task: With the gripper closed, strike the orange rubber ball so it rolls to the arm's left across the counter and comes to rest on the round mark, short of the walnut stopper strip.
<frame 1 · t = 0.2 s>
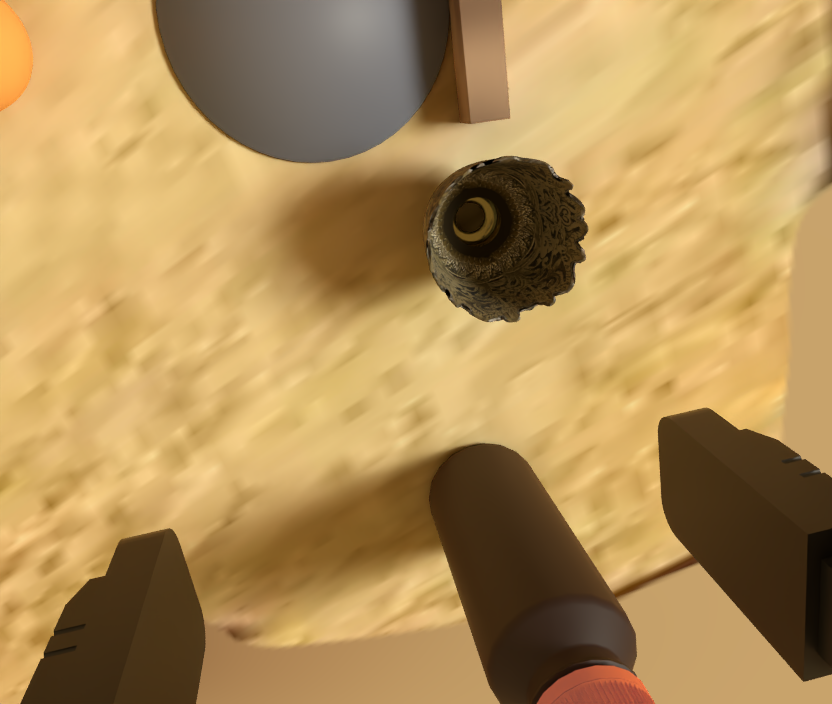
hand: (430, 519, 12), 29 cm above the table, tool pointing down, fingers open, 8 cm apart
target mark: (307, 13, 35), on the table
bottle: (480, 488, 45), on the table
cup: (468, 217, 40), on the table
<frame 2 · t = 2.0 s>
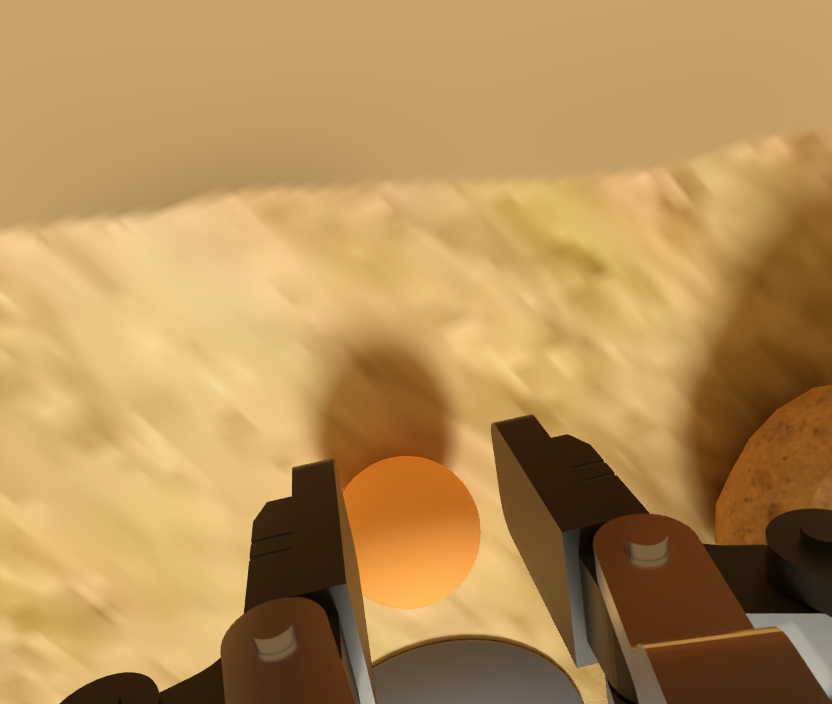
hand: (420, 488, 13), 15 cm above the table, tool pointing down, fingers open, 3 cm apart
ball: (406, 530, 27), on the table
potato: (773, 482, 33), on the table
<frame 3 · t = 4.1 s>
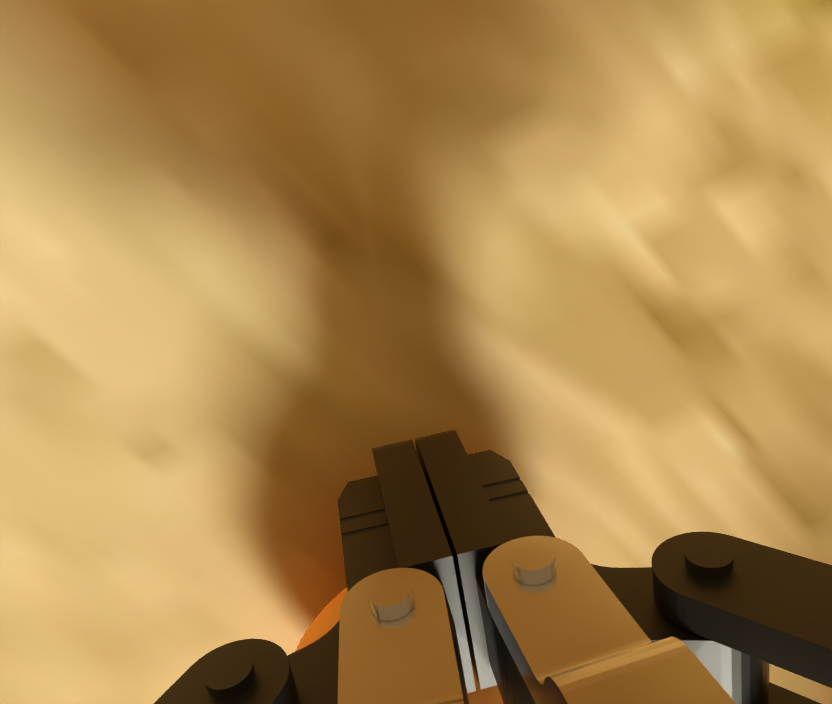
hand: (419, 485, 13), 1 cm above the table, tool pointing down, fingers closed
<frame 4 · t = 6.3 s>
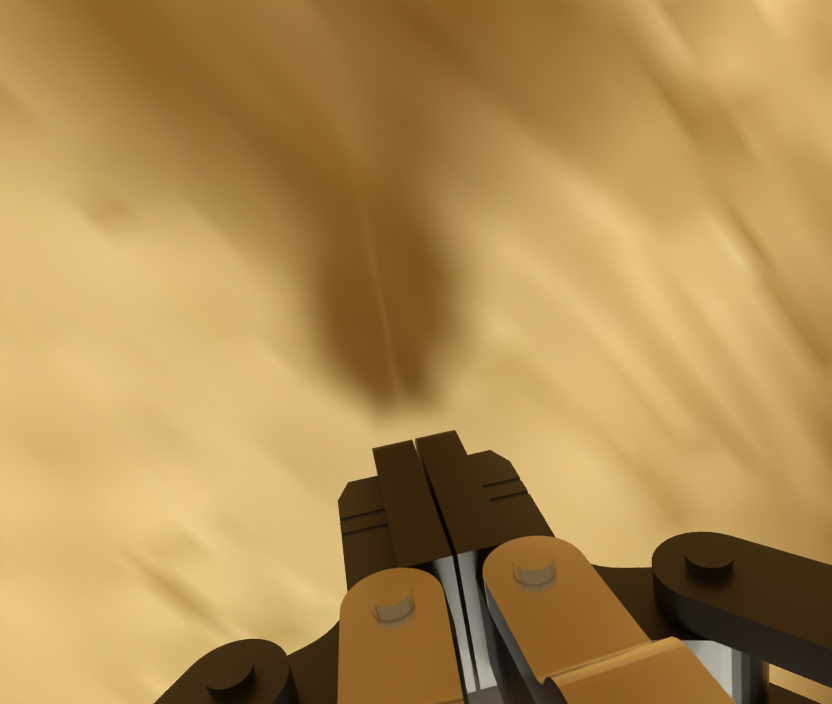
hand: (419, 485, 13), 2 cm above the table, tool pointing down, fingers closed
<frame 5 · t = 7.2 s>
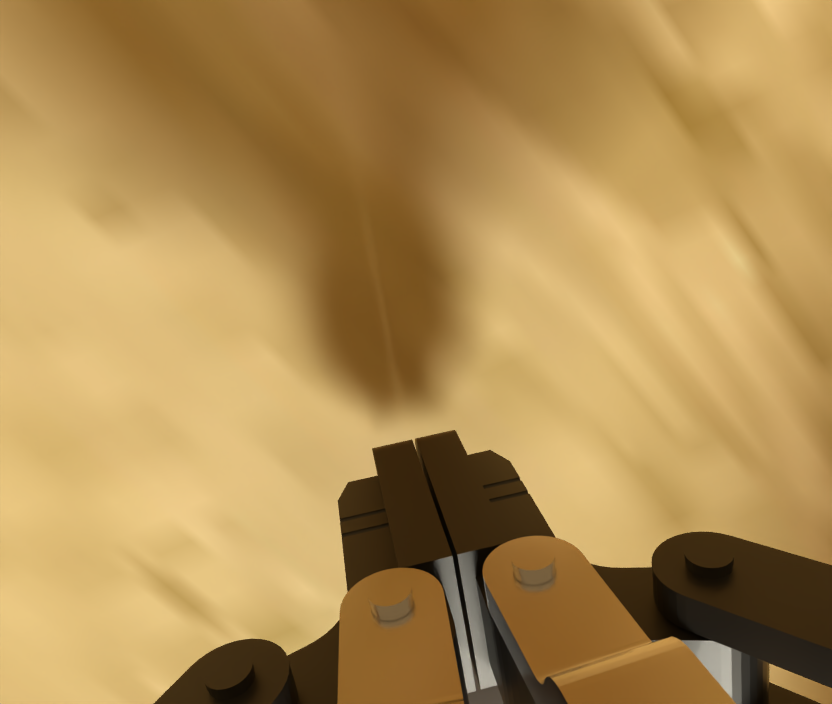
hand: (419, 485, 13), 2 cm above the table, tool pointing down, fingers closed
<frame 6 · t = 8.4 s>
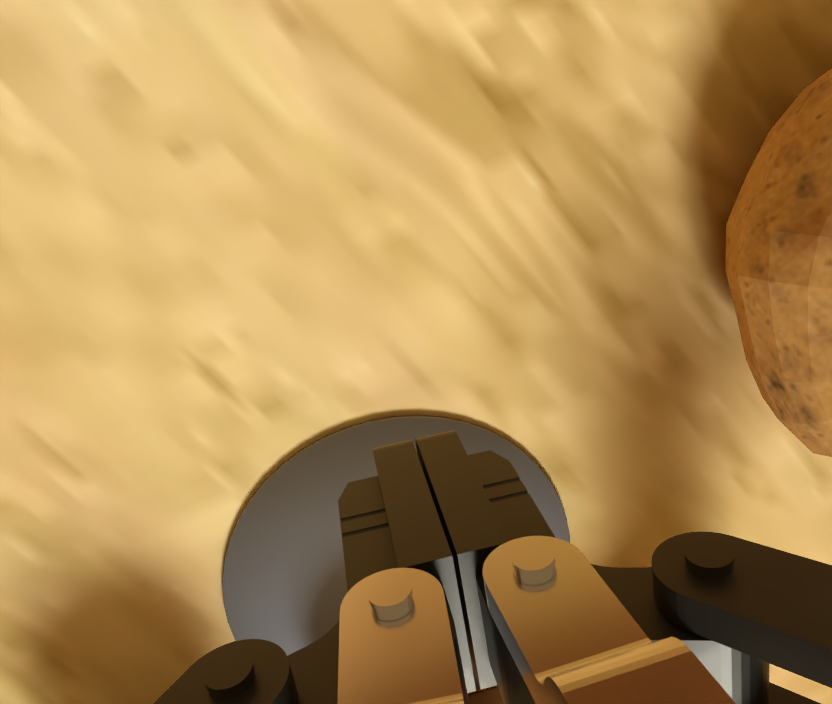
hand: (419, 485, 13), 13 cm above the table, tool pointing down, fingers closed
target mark: (402, 575, 29), on the table
potato: (792, 224, 27), on the table
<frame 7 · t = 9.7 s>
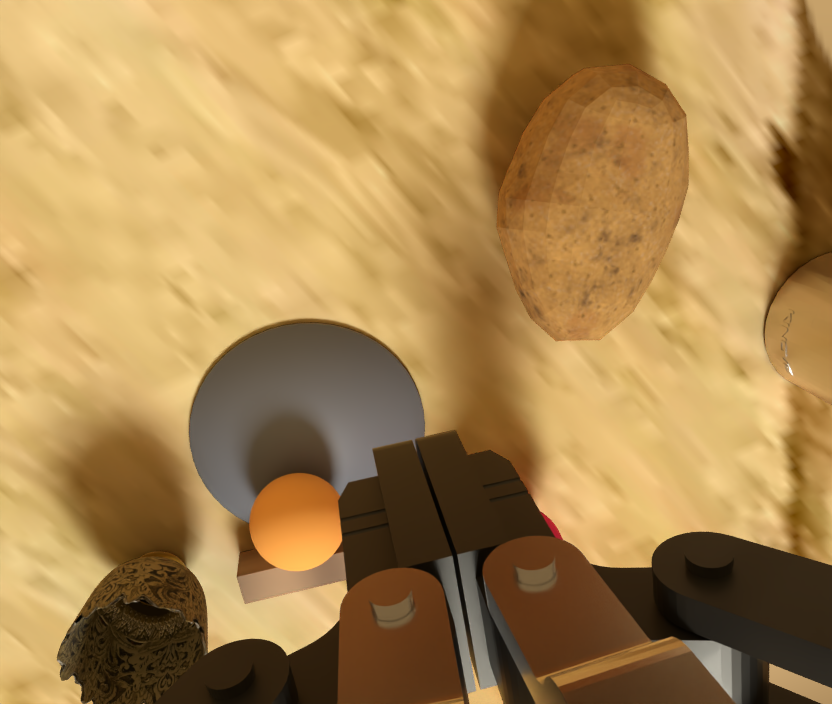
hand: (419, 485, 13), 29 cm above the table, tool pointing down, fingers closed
stopper strip: (336, 544, 46), on the table
ball: (298, 521, 42), on the table
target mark: (310, 433, 44), on the table
potato: (560, 199, 42), on the table
cup: (160, 569, 45), on the table
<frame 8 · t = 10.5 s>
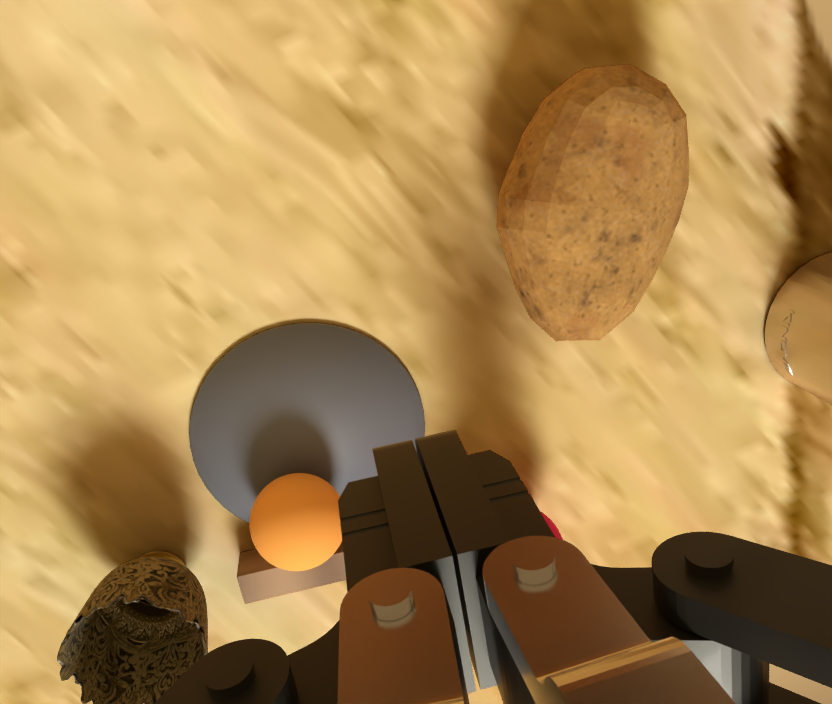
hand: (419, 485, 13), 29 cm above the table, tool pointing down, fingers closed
stopper strip: (336, 544, 46), on the table
ball: (298, 521, 42), on the table
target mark: (310, 433, 44), on the table
potato: (560, 199, 42), on the table
cup: (160, 569, 45), on the table
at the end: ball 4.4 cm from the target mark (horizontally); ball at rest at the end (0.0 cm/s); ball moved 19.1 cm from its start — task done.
